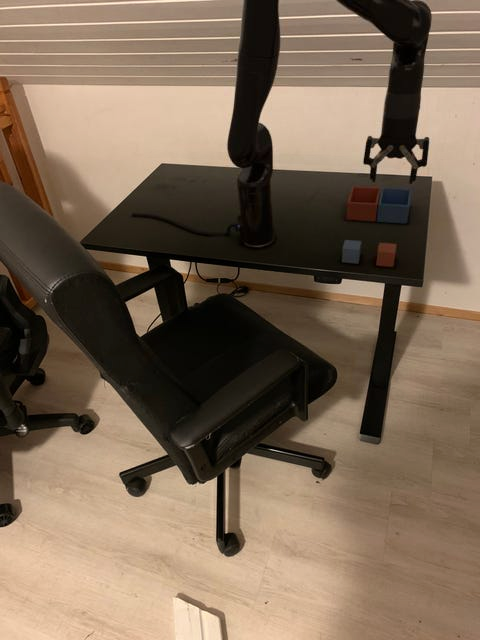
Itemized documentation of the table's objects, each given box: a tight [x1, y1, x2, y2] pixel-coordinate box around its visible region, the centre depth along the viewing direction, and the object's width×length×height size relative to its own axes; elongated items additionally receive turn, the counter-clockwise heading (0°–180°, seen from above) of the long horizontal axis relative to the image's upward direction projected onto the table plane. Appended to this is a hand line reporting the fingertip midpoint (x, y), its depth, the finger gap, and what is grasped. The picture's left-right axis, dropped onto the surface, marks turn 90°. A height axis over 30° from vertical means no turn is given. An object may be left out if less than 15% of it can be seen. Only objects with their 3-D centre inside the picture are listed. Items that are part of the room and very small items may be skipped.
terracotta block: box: [375, 242, 397, 268], centre depth 123 cm, size 4×4×4 cm
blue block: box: [341, 239, 362, 265], centre depth 125 cm, size 4×4×4 cm
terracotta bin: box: [345, 185, 382, 222], centre depth 143 cm, size 9×11×6 cm
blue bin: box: [376, 187, 412, 225], centre depth 141 cm, size 9×11×6 cm
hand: (392, 181), depth 112 cm, fingers open, 8 cm apart
